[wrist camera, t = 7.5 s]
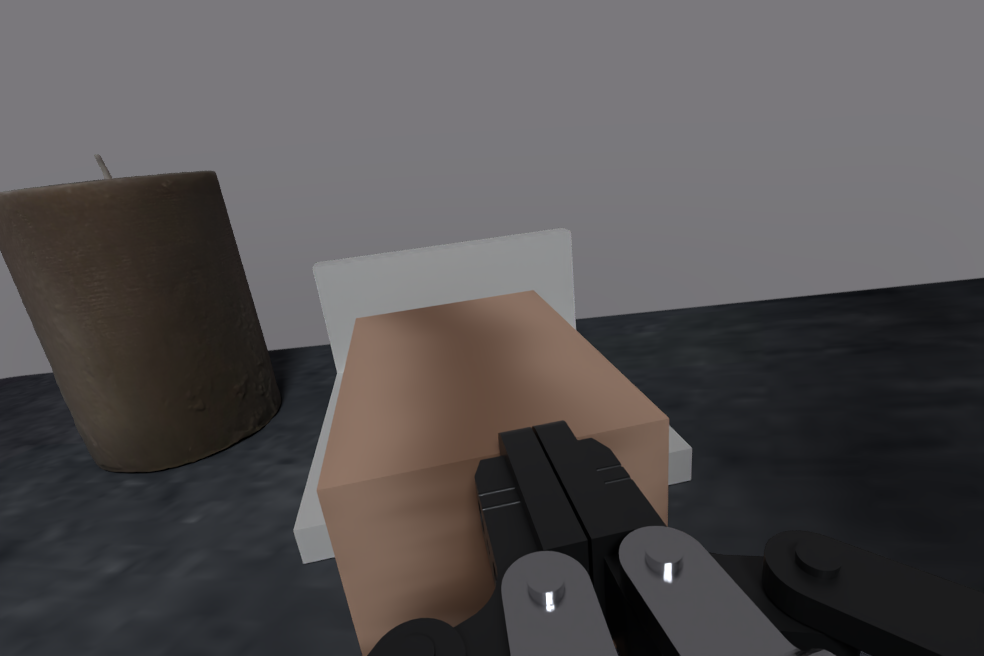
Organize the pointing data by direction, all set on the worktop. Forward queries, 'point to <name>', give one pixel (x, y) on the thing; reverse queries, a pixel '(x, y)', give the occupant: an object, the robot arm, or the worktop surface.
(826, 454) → the worktop surface
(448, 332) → the wooden block
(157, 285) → the pillar candle
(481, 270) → the white frame piece
